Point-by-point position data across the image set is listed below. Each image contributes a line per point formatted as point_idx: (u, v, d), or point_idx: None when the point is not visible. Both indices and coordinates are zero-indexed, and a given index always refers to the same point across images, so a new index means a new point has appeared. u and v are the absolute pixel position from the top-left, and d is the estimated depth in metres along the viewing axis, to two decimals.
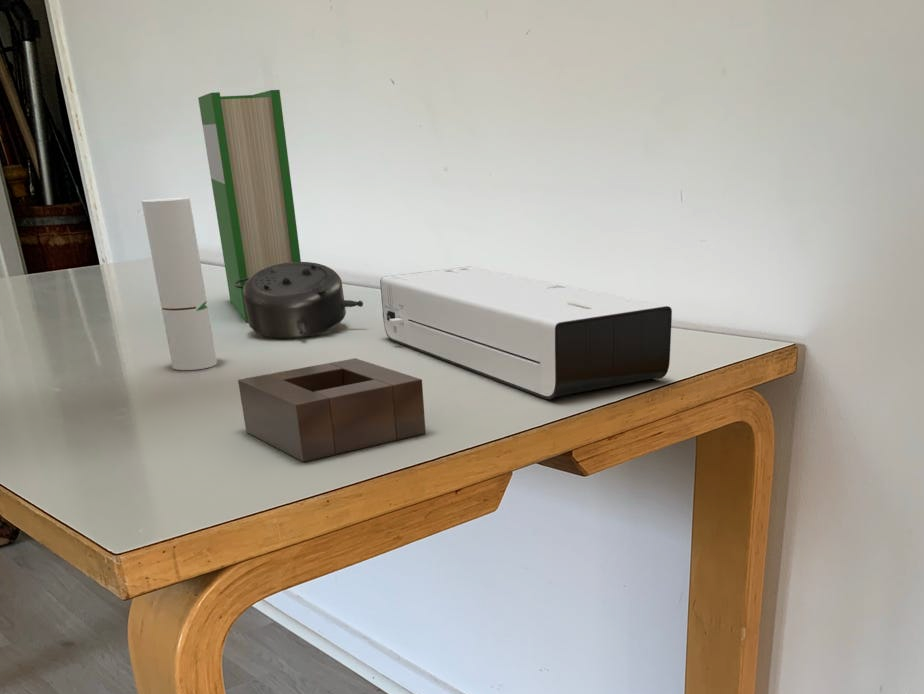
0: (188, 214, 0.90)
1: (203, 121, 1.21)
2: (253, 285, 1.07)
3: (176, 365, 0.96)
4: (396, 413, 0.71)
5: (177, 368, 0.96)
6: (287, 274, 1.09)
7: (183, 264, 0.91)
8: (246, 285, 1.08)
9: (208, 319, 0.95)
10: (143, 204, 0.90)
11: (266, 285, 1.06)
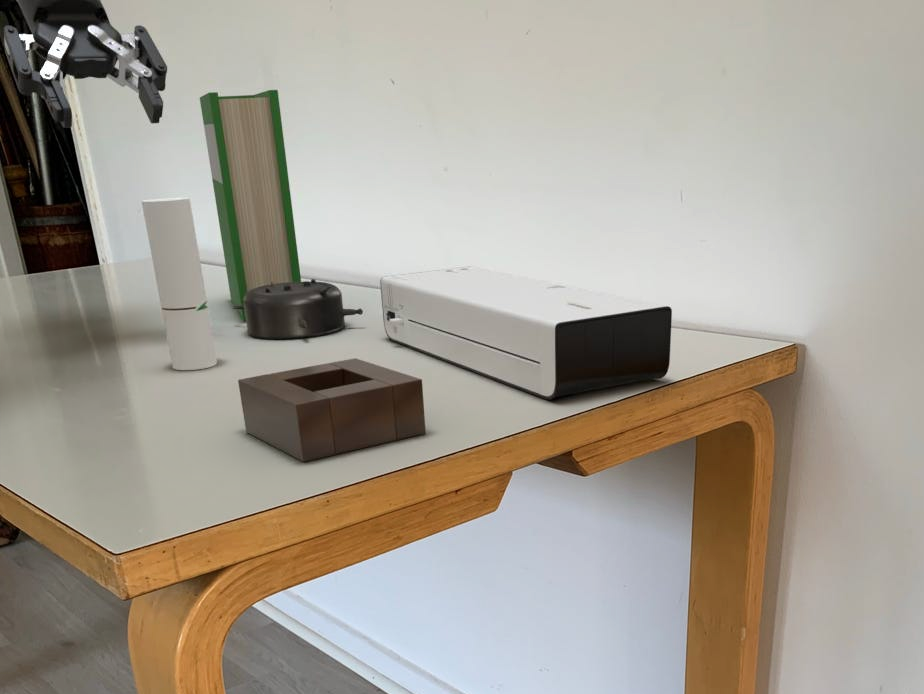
0: (188, 214, 0.90)
1: (204, 121, 1.21)
2: (254, 291, 1.08)
3: (176, 365, 0.96)
4: (396, 413, 0.71)
5: (177, 368, 0.96)
6: None
7: (183, 264, 0.91)
8: (247, 293, 1.09)
9: (208, 319, 0.95)
10: (143, 204, 0.90)
11: (268, 288, 1.07)
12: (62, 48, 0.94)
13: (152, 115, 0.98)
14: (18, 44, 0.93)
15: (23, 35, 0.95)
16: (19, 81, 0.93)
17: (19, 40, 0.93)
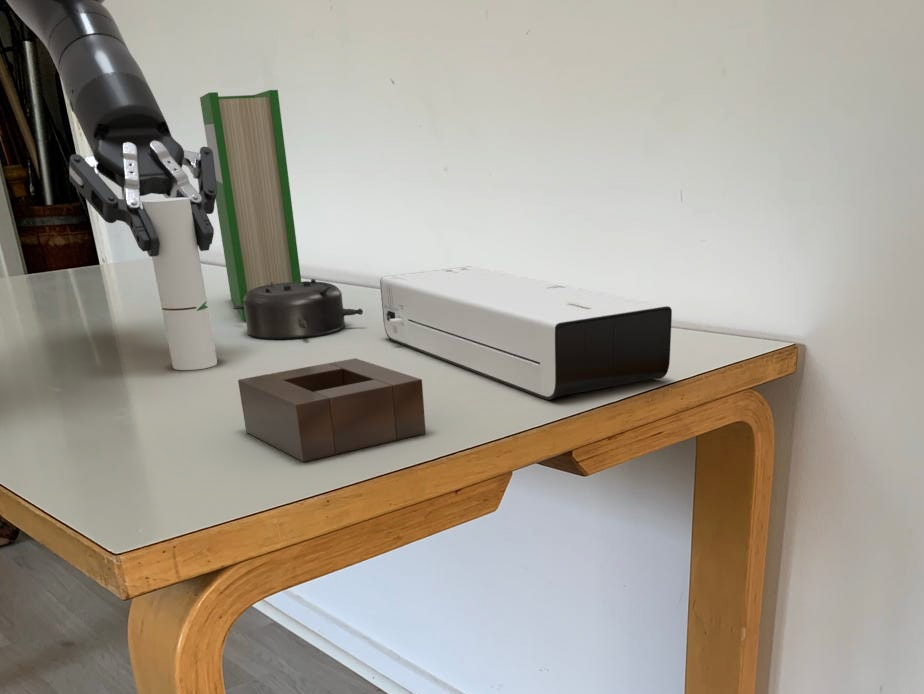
0: (188, 214, 0.90)
1: (204, 121, 1.21)
2: (254, 291, 1.08)
3: (176, 365, 0.96)
4: (396, 413, 0.71)
5: (177, 368, 0.96)
6: None
7: (183, 264, 0.91)
8: (247, 293, 1.09)
9: (208, 319, 0.95)
10: (143, 204, 0.90)
11: (268, 288, 1.07)
12: (134, 169, 0.90)
13: (202, 243, 0.92)
14: (91, 172, 0.89)
15: (86, 159, 0.90)
16: (106, 211, 0.89)
17: (90, 168, 0.89)
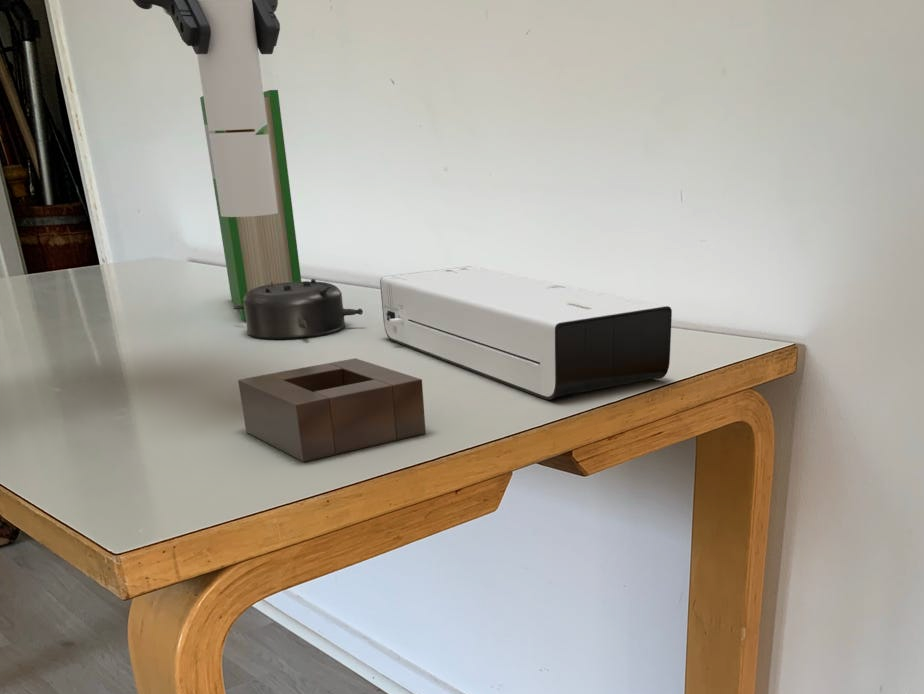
0: None
1: (204, 121, 1.21)
2: (254, 291, 1.08)
3: (226, 211, 0.74)
4: (396, 413, 0.71)
5: (228, 215, 0.74)
6: None
7: (239, 68, 0.69)
8: (247, 293, 1.09)
9: (269, 150, 0.73)
10: None
11: (268, 288, 1.07)
12: None
13: (265, 42, 0.70)
14: None
15: None
16: None
17: None
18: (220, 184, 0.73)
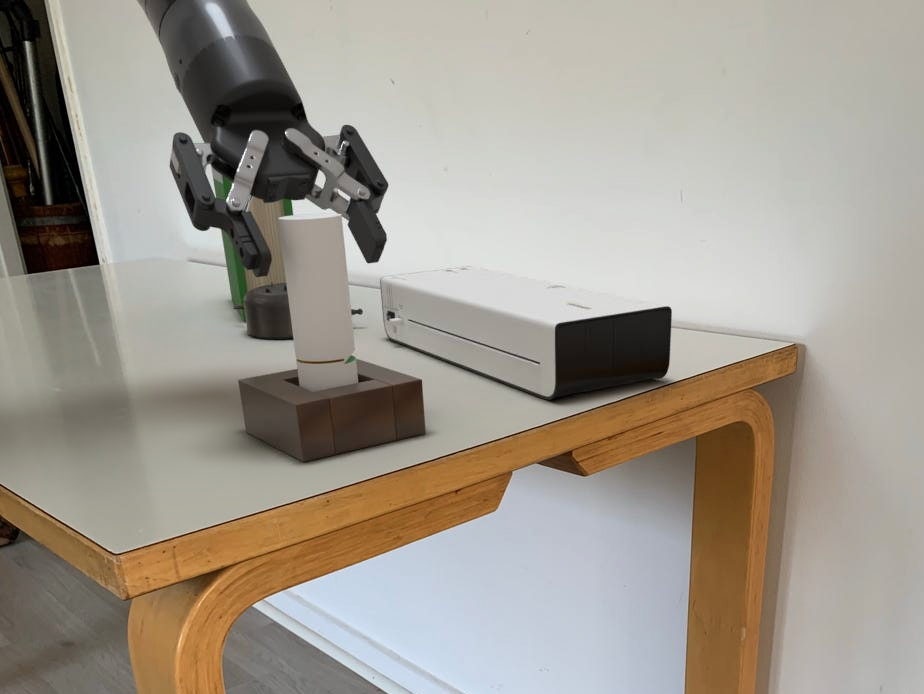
0: (340, 236, 0.67)
1: None
2: (254, 291, 1.08)
3: None
4: (396, 413, 0.71)
5: None
6: None
7: (331, 304, 0.68)
8: (247, 293, 1.09)
9: (356, 374, 0.72)
10: (281, 223, 0.66)
11: (268, 288, 1.07)
12: (254, 164, 0.66)
13: (371, 253, 0.69)
14: (194, 160, 0.65)
15: (197, 145, 0.66)
16: (195, 213, 0.65)
17: (195, 154, 0.65)
18: None
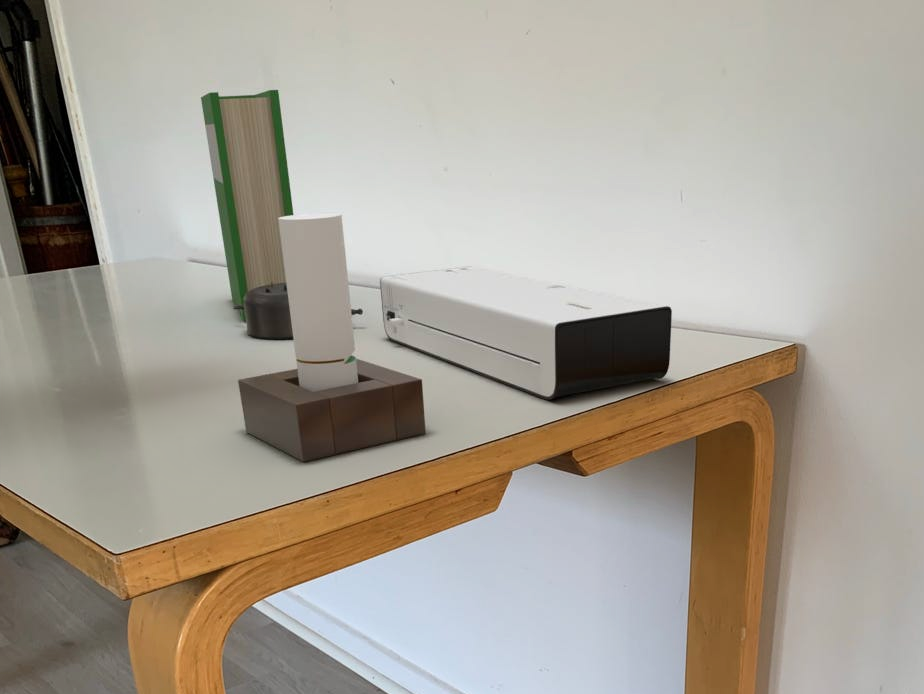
0: (340, 236, 0.67)
1: (205, 121, 1.21)
2: (254, 291, 1.08)
3: None
4: (396, 413, 0.71)
5: None
6: None
7: (331, 304, 0.68)
8: (247, 293, 1.09)
9: (356, 374, 0.72)
10: (281, 223, 0.66)
11: (268, 288, 1.07)
12: None
13: None
14: None
15: None
16: None
17: None
18: None
